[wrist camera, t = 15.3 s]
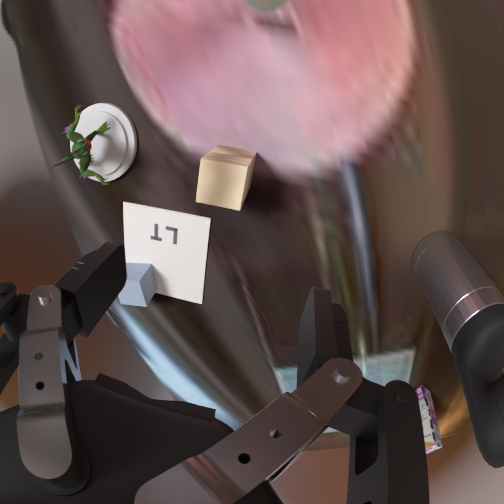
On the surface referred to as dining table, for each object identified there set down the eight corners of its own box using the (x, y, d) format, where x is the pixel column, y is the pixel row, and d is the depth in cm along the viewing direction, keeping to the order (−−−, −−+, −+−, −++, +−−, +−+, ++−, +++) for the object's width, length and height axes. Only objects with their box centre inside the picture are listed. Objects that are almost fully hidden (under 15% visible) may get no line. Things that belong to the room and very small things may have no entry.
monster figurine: (149, 163, 40) (112, 187, 31) (90, 190, 43) (51, 216, 34) (120, 88, 34) (75, 94, 26) (64, 124, 37) (18, 139, 29)
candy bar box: (421, 383, 57) (436, 443, 42) (429, 389, 58) (444, 446, 44) (383, 404, 62) (390, 463, 48) (392, 410, 63) (400, 465, 49)
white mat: (210, 218, 43) (210, 218, 43) (202, 303, 51) (201, 304, 51) (123, 201, 43) (123, 202, 43) (128, 284, 51) (127, 285, 51)
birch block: (256, 152, 37) (247, 167, 30) (249, 187, 40) (239, 210, 33) (218, 144, 37) (201, 158, 30) (213, 180, 40) (195, 201, 33)
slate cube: (151, 263, 48) (139, 281, 44) (157, 288, 50) (146, 306, 46) (126, 262, 48) (112, 279, 44) (132, 286, 51) (120, 303, 47)
